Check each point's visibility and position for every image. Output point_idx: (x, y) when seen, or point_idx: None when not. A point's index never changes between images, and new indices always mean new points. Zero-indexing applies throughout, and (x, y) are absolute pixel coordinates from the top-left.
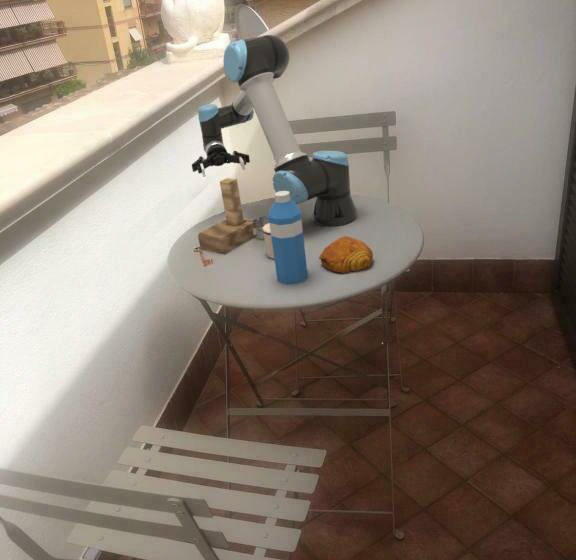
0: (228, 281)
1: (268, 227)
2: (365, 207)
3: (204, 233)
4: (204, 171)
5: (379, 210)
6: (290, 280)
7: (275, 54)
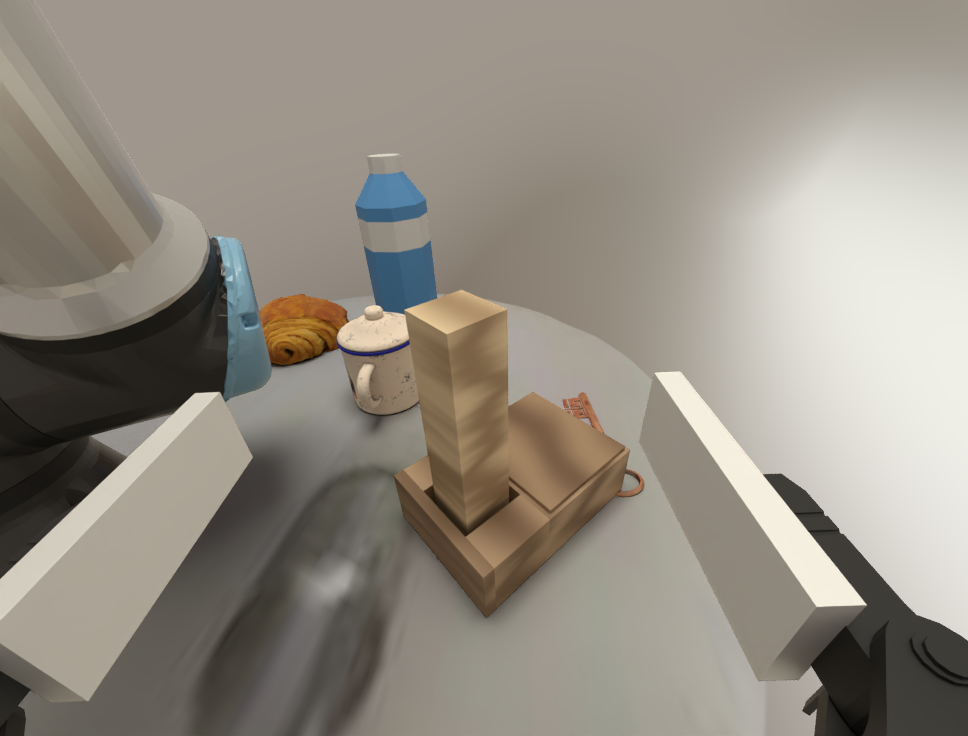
0: (525, 342)
1: (402, 319)
2: None
3: (600, 438)
4: (650, 398)
5: None
6: None
7: None
